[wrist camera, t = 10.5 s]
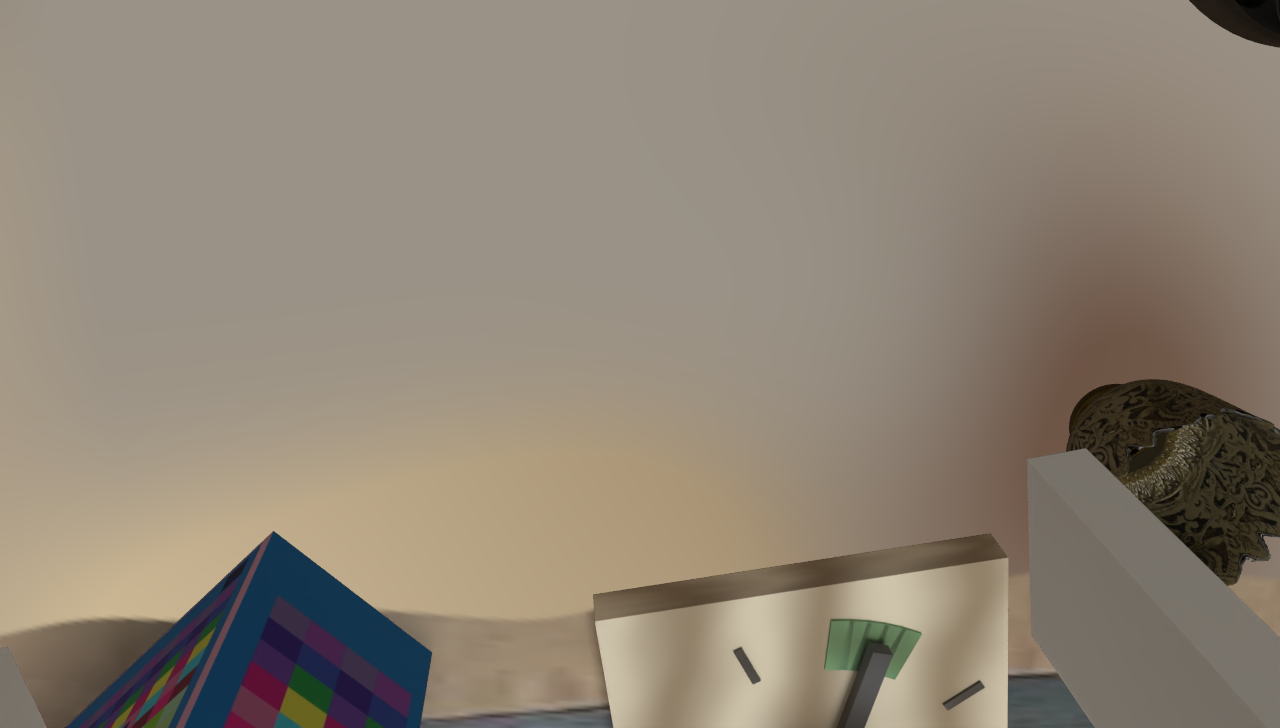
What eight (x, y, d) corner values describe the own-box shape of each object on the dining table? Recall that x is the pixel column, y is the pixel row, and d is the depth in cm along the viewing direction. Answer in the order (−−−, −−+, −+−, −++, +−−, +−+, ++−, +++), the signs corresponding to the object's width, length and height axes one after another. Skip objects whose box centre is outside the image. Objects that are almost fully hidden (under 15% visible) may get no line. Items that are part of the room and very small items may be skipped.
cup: (1217, 358, 46) (1346, 441, 38) (1144, 506, 48) (1252, 611, 41) (1060, 319, 44) (1162, 398, 37) (993, 473, 47) (1076, 576, 40)
